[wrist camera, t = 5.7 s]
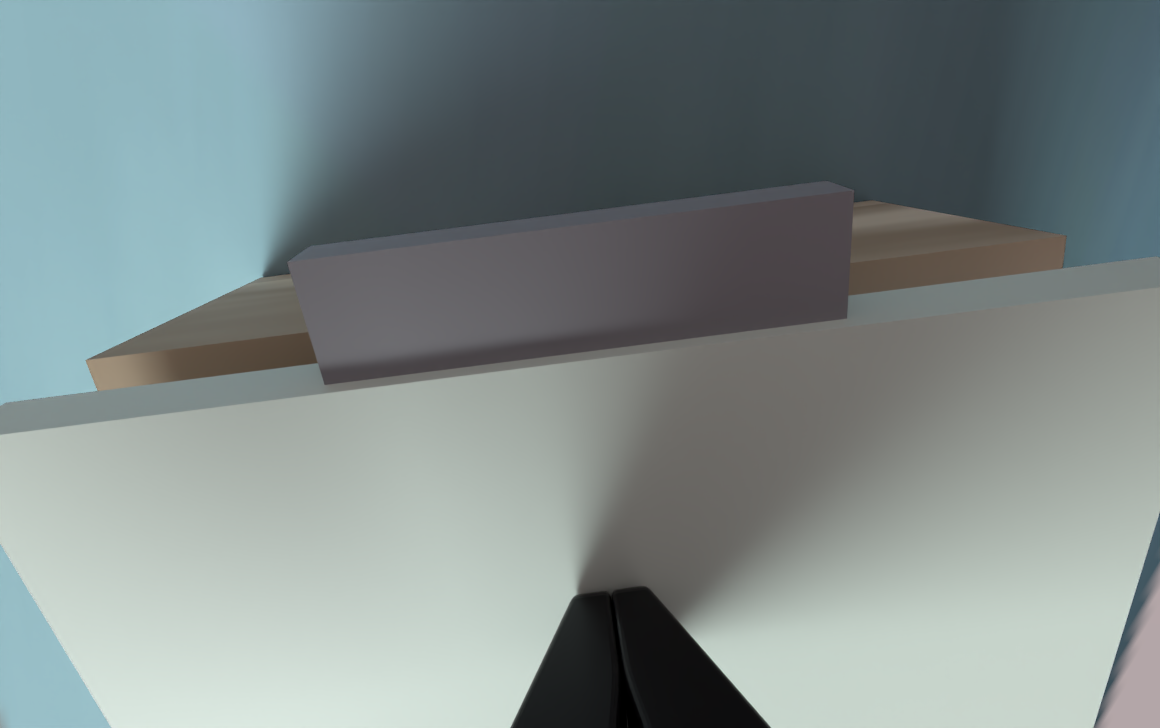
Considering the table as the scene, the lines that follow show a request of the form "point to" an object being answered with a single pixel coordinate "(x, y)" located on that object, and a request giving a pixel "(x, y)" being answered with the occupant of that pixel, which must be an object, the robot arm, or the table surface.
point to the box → (280, 339)
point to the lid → (614, 480)
